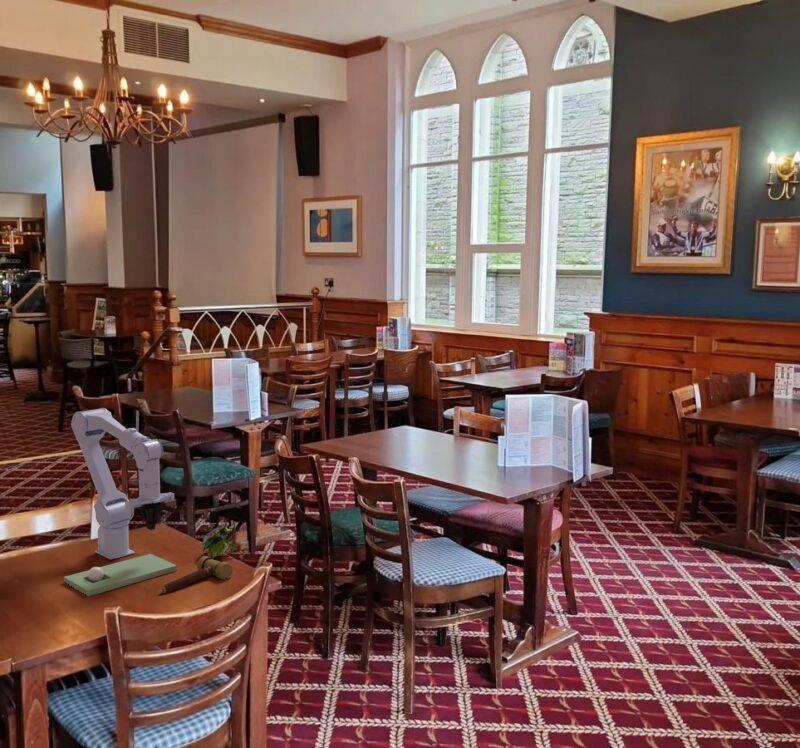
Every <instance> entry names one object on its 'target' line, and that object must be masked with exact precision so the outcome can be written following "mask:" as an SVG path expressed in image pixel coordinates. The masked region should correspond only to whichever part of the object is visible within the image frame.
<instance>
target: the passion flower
mask: <svg viewBox="0 0 800 748" xmlns="http://www.w3.org/2000/svg"><path fill="white" fill-rule="evenodd" d="M216 524H217V523H216V522H213V523H210V524H209V525H207V526H206V527H205V530H204V532H205V533H206V536H204V537H203V538H202V542H201V545H202V546H203V547H202V551H205V550H207V557H211V558H212V559H215V558H216V557H217V556H219V557H220V556H222V555H223V554H224V553H225V552H226V551H227V550H229V548H230V549H231V551H230V552H231V555H232V556H233V555H234V551H238V548H237V546H236V545H235V544H234V543H233V542H234V537H235V532H236V529H237V528H236V526H235V524H232V525H231V526H229V525H228V522H227V521H225V522H224V523H223V524H222V523H221V524H219V525H218V526H217V525H216ZM215 526H216V528H214V527H215ZM228 526H229V528H228ZM207 532H209V533H207ZM230 533H231V534H232V533H233V534H232V538H231V541H227V537H228V534H230Z"/></svg>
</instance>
